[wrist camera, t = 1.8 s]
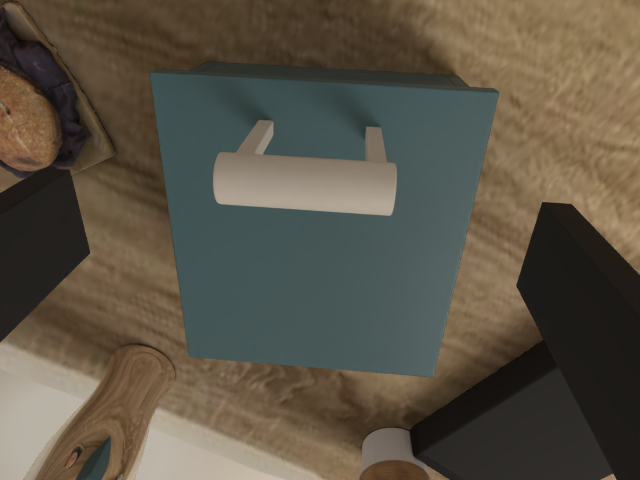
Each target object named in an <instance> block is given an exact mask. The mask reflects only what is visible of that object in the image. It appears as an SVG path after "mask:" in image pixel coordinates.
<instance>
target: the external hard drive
mask: <svg viewBox="0 0 640 480" xmlns="http://www.w3.org/2000/svg"><path fill="white" fill-rule="evenodd" d="M410 435H411V444H412V452H413V456H414V457H415V458H416V459H418V460H420V461H421V462H423V463H424V464H426V465H428V466H429V467H431V468H432V469H434V470H435V471H437V472H439V473H440V474H442V475H443V476H445V477H447V478H448V479H450V480H600V479H602V478H605V477H607V476H609V475H611V474H613V472H612V470H611V468H610V466H609V464H608V462H607V460H606V458H605V456H604V454H603V452H602V450H601V449H600V447H599V445H598V443H597V441H596V439H595V437H594V435H593V433H592V431H591V429H590V427H589V425H588V423H587V421H586V420H585V418H584V416H583V414H582V412H581V410H580V408H579V406H578V404H577V402H576V400H575V398H574V396H573V394H572V393H571V391H570V389H569V387H568V385H567V383H566V381H565V379H564V377H563V375H562V373H561V371H560V369H559V367H558V365H557V364H556V362H555V360H554V358H553V356H552V354H551V352H550V350H549V348H548V346H547V344H546V342H545V340H544V341H543V342H541V343H540V344H538V345H537V346H535V347H534V348H532V349H531V350H529V351H528V352H526V353H525V354H523V355H522V356H520V357H519V358H517V359H516V360H514V361H513V362H511V363H510V364H508V365H507V366H505V367H504V368H502V369H501V370H499V371H498V372H496V373H495V374H493V375H492V376H490V377H489V378H487V379H486V380H484V381H483V382H481V383H479V384H478V385H476V386H475V387H473V388H472V389H470V390H469V391H467V392H466V393H464V394H463V395H461V396H460V397H458V398H457V399H455V400H454V401H452V402H451V403H449V404H448V405H446V406H445V407H443V408H442V409H440V410H439V411H437V412H436V413H434V414H433V415H431V416H430V417H428V418H427V419H425V420H424V421H422V422H421V423H419V424H418V425H416V426H415V427H413V428H412V429H410Z"/></svg>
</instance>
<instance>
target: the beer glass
mask: <svg viewBox="0 0 640 480" xmlns="http://www.w3.org/2000/svg"><path fill="white" fill-rule="evenodd" d="M174 380H175V370H174V367H173V365H172V363H171V362H170V361H169V359H168V358H167V357H166V356H164V355H163V354H162V353H160V352H159V351H157V350H155V349H153V348H150V347H147V346H143V345H127V346H123V347H121V348H119V349H117V350H116V351H115V352H114V353H113V354H112V356H111V358H110V360H109V362H108V365H107V367H106V370H105V373H104V375H103V377H102V379H101V381H100V383H99V385H98V386H97V387H96V389H95V390H94V391H93V393H92V394H91V395H90V396H89V397H88V398H87V399H86V401H85V402H84V403H83V404H82V405H81V406H80V407H79V408H78V409H77V410H76V411H75V412H74V413H73V414H72V415H71V416H70V418H69V419H68V420H67V421H66V422H65V423H64V424H63V425H62V426H61V427H60V429H59V430H58V431H57V432H56V433H55V434H54V436H53V437H52V438H51V439H50V440H49V442H48V443H47V444H46V446H45V447H44V449H43V450H42V451H41V453H40V454H39V455H38V457H37V458H36V459H35V461H34V463H33V464H32V466H31V467H30V469H29V471H28V472H27V474H26V475H25V477H24V479H23V480H135V478H136V475H137V472H138V468H139V465H140V462H141V459H142V455H143V451H144V448H145V444H146V440H147V436H148V432H149V428H150V425H151V421H152V418H153V415H154V413H155V410H156V408H157V406H158V404H159V403H160V401H161V400H162V398H163V397H164V396H165V394H166V393H167V392H168V390H169V389H170V388H171V386H172V384H173V382H174Z"/></svg>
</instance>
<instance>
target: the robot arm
mask: <svg viewBox="0 0 640 480" xmlns="http://www.w3.org/2000/svg"><path fill="white" fill-rule="evenodd" d="M89 254H90V250H89V246H88V242H87V237H86V233H85V229H84V225H83V221H82V217H81V213H80V209H79V205H78V201H77V196H76V192H75V188H74V184H73V180H72V176H71V172H70V170H68V169H53V168H43V169H41V170H39V171H37V172H36V173H34V174H32V175H31V176H29V177H27V178H25V179H24V180H22V181H20V182H19V183H17V184H15V185H13V186H12V187H10V188H8V189H6V190H5V191H3V192H1V193H0V342H1V341H2V340H3V339H4V338H5V337H6V336H7V335H8V334H9V333H10V332H11V331H12V330H13V329H14V328H15V327H16V326H17V325H18V324H19V323H20V322H21V321H22V320H23V319H24V318H25V317H26V316H27V315H28V314H29V313H30V312H31V311H32V310H33V309H34V308H35V307H36V306H37V305H38V304H39V303H40V302H41V301H42V300H43V299H44V298H45V297H46V296H47V295H48V294H49V293H50V292H51V291H52V290H53V289H54V288H55V287H56V286H57V285H58V284H59V283H60V282H62V281H63V280H64V279H65V278H66V277H67V276H68V275H69V274H70V273H71V272H72V271H73V270H74V269H75V268H76V267H77V266H78V265H79V264H80V263H81V262H82V261H83V260H84V259H85V258H86V257H87V256H88V255H89ZM516 286H517V288H518V290H519V292H520V294H521V296H522V298H523V300H524V302H525V304H526V306H527V307H528V309H529V311H530V313H531V315H532V317H533V319H534V321H535V323H536V325H537V327H538V329H539V331H540V333H541V335H542V336H543V338H544V340H545V342H546V344H547V346H548V348H549V350H550V352H551V354H552V356H553V358H554V360H555V362H556V364H557V365H558V367H559V369H560V371H561V373H562V375H563V377H564V379H565V381H566V383H567V385H568V387H569V389H570V391H571V393H572V394H573V396H574V398H575V400H576V402H577V404H578V406H579V408H580V410H581V412H582V414H583V416H584V418H585V420H586V421H587V423H588V425H589V427H590V429H591V431H592V433H593V435H594V437H595V439H596V441H597V443H598V445H599V447H600V449H601V450H602V452H603V454H604V456H605V458H606V460H607V462H608V464H609V466H610V468H611V470H612V472H613V474H614V476H615V478H616V479H617V480H640V275H639V274H638V273H637V272H636V271H635V270H634V269H633V268H632V267H631V266H630V265H629V264H628V263H627V261H626V260H625V259H624V258H623V257H622V256H621V255H620V254H619V253H618V252H617V251H616V250H615V249H614V248H613V247H612V246H611V245H610V244H609V243H608V242H607V241H606V240H605V239H604V238H603V236H602V235H601V234H600V233H599V232H598V231H597V230H596V229H595V228H594V227H593V226H592V225H591V224H590V223H589V222H588V221H587V220H586V219H585V218H584V217H583V216H582V215H581V214H580V213H579V211H578V210H577V209H576V208H575V207H574V206H573V205H572V204H564V203H549V202H542V205H541V208H540V211H539V214H538V217H537V221H536V224H535V227H534V230H533V234H532V237H531V240H530V243H529V246H528V250H527V253H526V256H525V259H524V262H523V266H522V269H521V272H520V275H519V279H518V282H517V285H516Z"/></svg>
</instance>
